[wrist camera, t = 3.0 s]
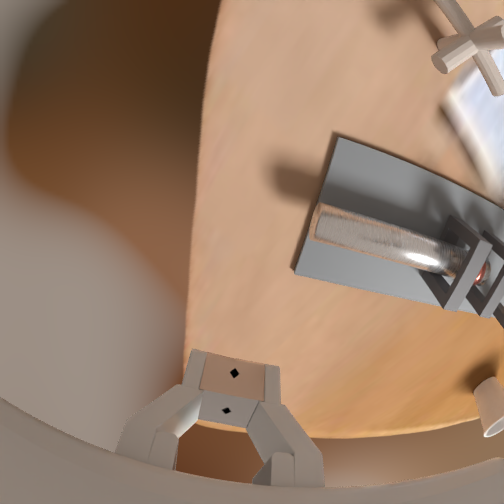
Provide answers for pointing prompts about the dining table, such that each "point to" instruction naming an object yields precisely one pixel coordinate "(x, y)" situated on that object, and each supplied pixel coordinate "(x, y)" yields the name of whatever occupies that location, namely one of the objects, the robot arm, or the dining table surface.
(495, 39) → the pipe connector
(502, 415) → the dixie cup
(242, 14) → the dining table surface
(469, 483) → the robot arm
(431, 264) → the tube
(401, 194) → the collar board
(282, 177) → the dining table surface
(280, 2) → the dining table surface
